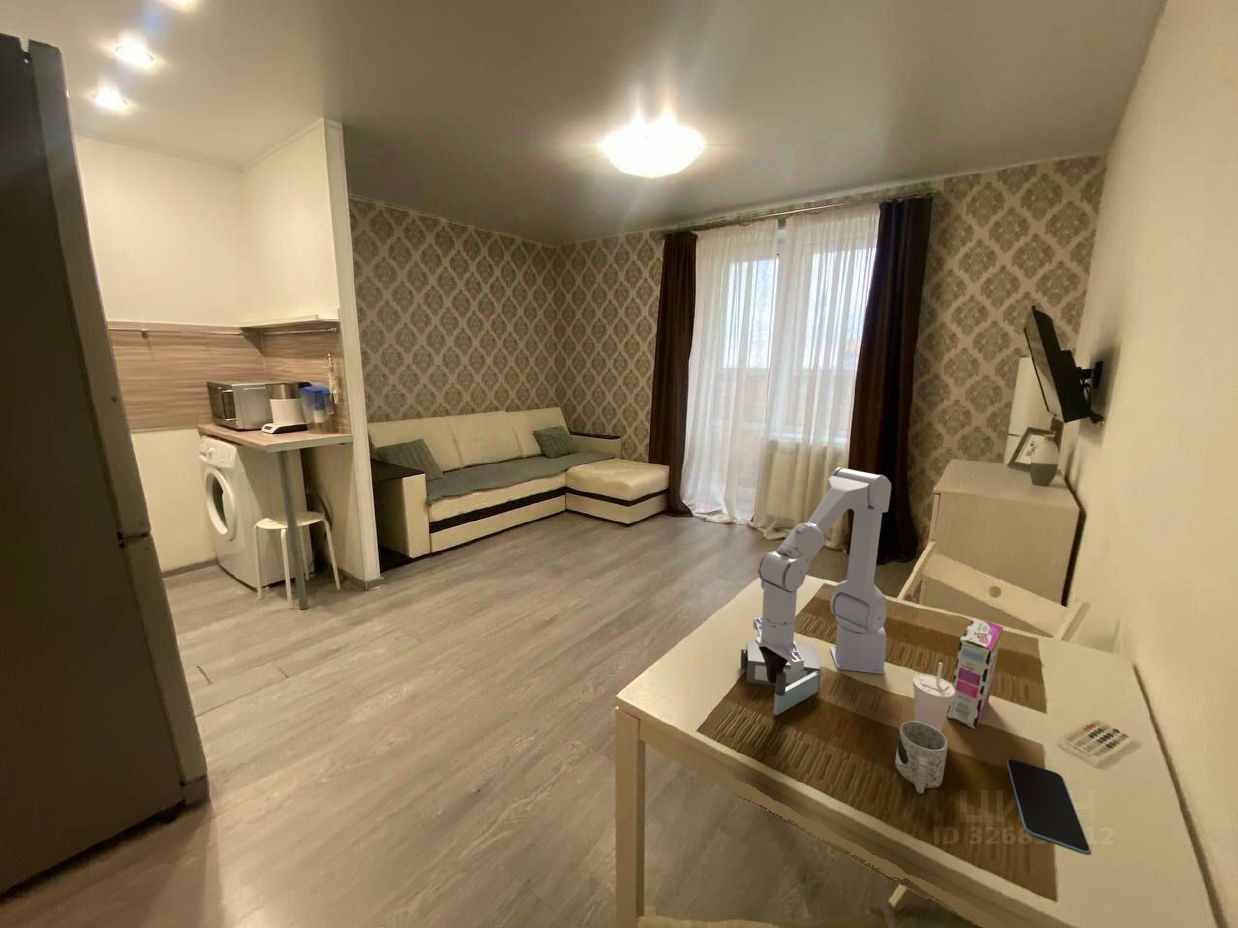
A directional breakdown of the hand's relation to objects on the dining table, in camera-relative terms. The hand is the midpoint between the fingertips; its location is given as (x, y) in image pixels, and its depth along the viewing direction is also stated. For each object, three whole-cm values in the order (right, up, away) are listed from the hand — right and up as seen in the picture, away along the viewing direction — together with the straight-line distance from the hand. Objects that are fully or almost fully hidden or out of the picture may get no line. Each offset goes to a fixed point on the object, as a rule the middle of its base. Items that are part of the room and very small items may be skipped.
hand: (774, 681), depth 94 cm
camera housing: (+5, -3, +11) cm, 13 cm away
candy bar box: (+37, -6, +1) cm, 38 cm away
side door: (+5, -5, +2) cm, 8 cm away
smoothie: (+26, -7, -5) cm, 27 cm away
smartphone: (+35, -11, -19) cm, 41 cm away
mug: (+19, -9, -14) cm, 25 cm away
